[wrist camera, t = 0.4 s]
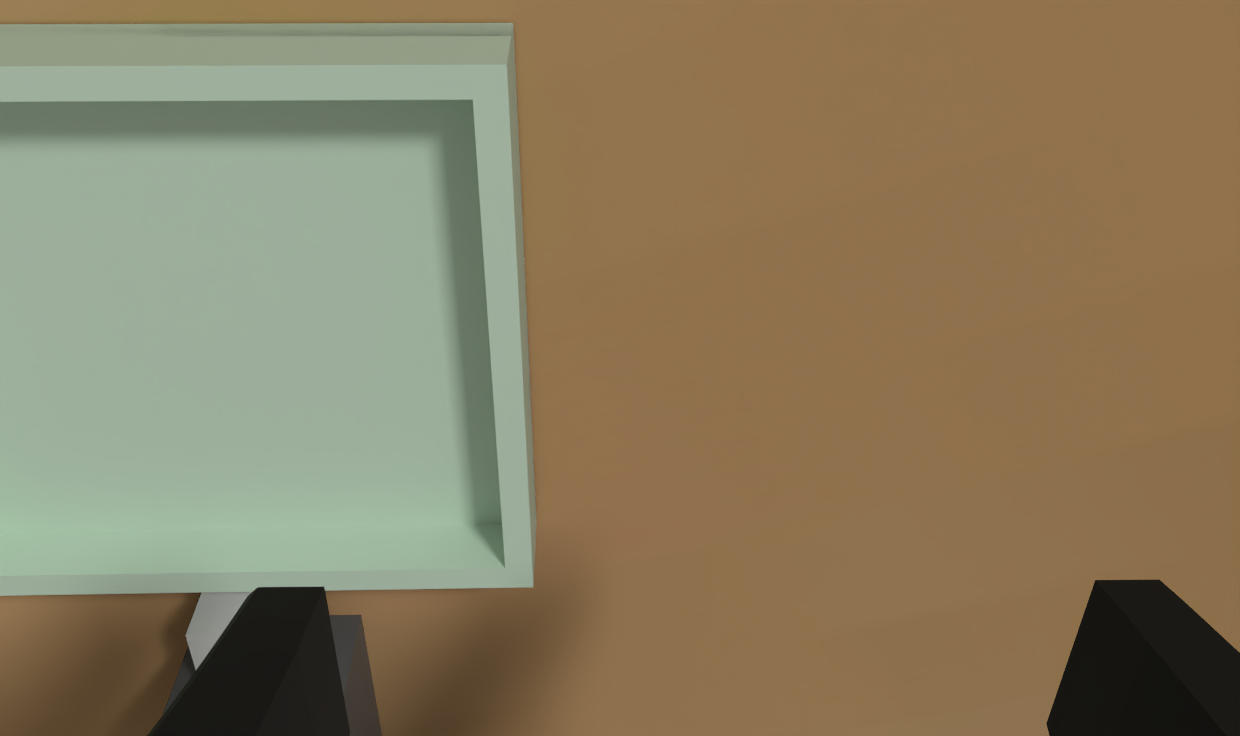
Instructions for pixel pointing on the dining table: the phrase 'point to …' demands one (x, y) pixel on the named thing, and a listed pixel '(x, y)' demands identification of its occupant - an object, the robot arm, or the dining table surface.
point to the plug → (349, 647)
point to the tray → (262, 309)
